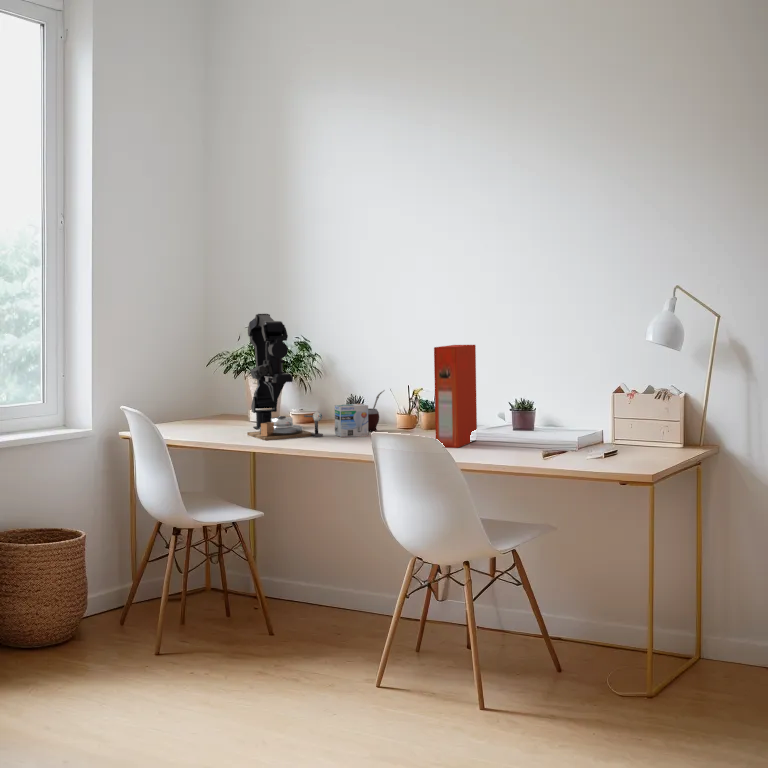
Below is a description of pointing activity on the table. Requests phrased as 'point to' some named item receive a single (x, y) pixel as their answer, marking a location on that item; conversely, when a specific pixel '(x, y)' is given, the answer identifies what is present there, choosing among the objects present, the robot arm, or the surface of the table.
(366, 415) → the light bulb box
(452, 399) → the file binder
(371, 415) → the mate gourd
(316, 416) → the stand
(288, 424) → the cover
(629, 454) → the table surface
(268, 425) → the turntable
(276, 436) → the plinth
